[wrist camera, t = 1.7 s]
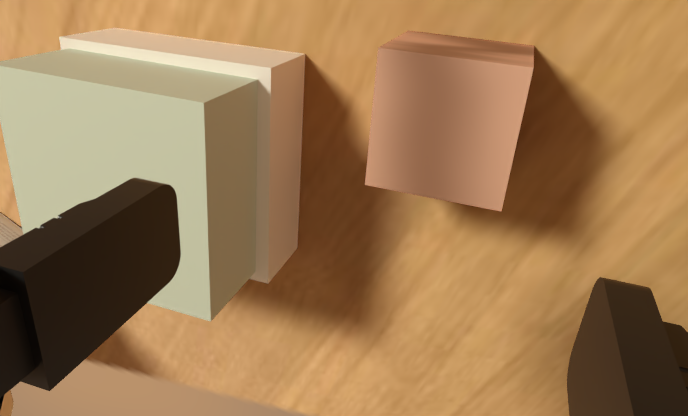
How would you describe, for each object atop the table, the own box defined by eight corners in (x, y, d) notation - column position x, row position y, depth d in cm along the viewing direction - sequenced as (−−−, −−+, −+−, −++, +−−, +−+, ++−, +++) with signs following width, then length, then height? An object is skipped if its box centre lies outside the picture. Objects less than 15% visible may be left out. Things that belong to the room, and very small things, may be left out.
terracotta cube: (534, 45, 21) (533, 67, 17) (507, 164, 23) (501, 211, 19) (408, 30, 22) (378, 47, 18) (394, 145, 25) (364, 184, 20)
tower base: (308, 52, 24) (270, 68, 21) (300, 244, 29) (268, 283, 25) (120, 26, 27) (59, 36, 23) (139, 207, 31) (90, 238, 28)
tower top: (258, 79, 21) (203, 103, 18) (255, 271, 25) (211, 321, 22) (69, 48, 24) (-12, 63, 20) (94, 229, 27) (30, 269, 24)
